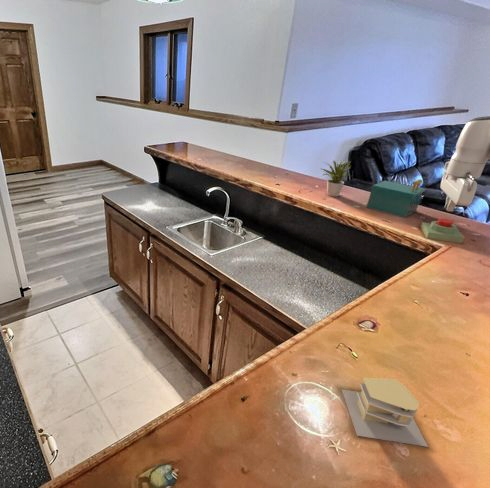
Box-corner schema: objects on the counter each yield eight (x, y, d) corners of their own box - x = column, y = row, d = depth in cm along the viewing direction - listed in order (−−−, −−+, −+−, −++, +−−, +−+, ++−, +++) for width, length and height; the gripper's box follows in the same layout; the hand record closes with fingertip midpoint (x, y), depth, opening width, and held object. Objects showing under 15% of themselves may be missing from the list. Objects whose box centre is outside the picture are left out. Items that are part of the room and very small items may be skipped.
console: (453, 231, 124) (457, 221, 123) (461, 243, 116) (466, 232, 114) (420, 227, 128) (423, 217, 126) (426, 238, 120) (430, 227, 118)
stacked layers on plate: (356, 435, 54) (365, 411, 52) (341, 389, 62) (348, 366, 60) (427, 447, 53) (440, 422, 50) (402, 398, 60) (412, 374, 58)
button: (448, 224, 121) (450, 219, 121) (452, 228, 118) (454, 223, 117) (435, 222, 123) (437, 218, 122) (438, 226, 120) (440, 222, 119)
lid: (425, 190, 139) (429, 179, 137) (414, 196, 132) (418, 184, 130) (384, 182, 150) (387, 171, 148) (372, 187, 143) (375, 175, 141)
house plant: (328, 187, 172) (335, 154, 165) (355, 195, 162) (364, 159, 155) (311, 192, 165) (317, 158, 158) (338, 200, 155) (346, 164, 148)
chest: (416, 211, 143) (423, 190, 139) (404, 217, 137) (411, 196, 133) (378, 201, 154) (384, 182, 150) (366, 207, 147) (372, 187, 143)
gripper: (488, 178, 102) (469, 222, 108) (466, 163, 119) (450, 202, 125) (462, 176, 104) (445, 219, 111) (444, 161, 121) (430, 199, 128)
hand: (448, 209), depth 118 cm, fingers closed
